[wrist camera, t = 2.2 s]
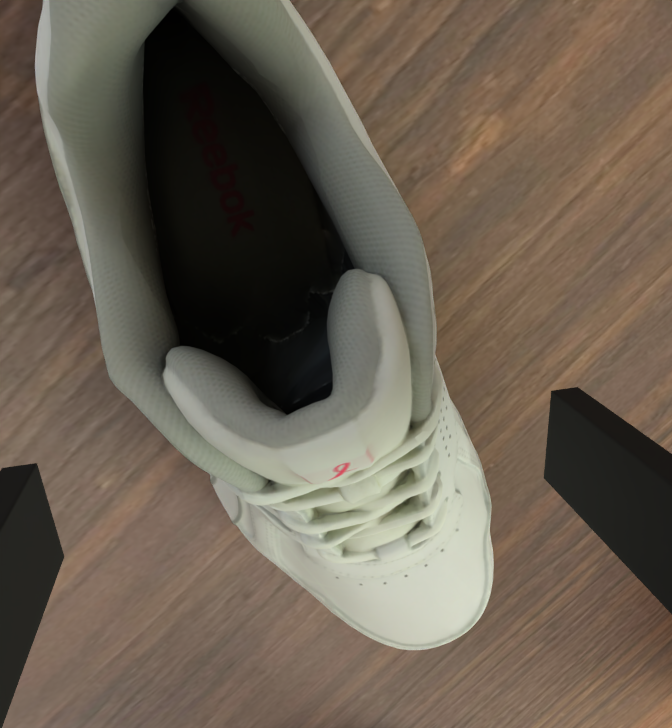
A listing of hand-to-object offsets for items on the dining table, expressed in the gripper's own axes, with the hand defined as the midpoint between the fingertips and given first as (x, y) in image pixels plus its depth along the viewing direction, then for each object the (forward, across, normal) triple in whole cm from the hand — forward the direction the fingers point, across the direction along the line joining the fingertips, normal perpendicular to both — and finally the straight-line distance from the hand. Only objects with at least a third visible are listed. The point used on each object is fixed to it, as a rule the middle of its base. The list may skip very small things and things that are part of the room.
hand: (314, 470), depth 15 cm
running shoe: (+10, 0, 0) cm, 10 cm away
